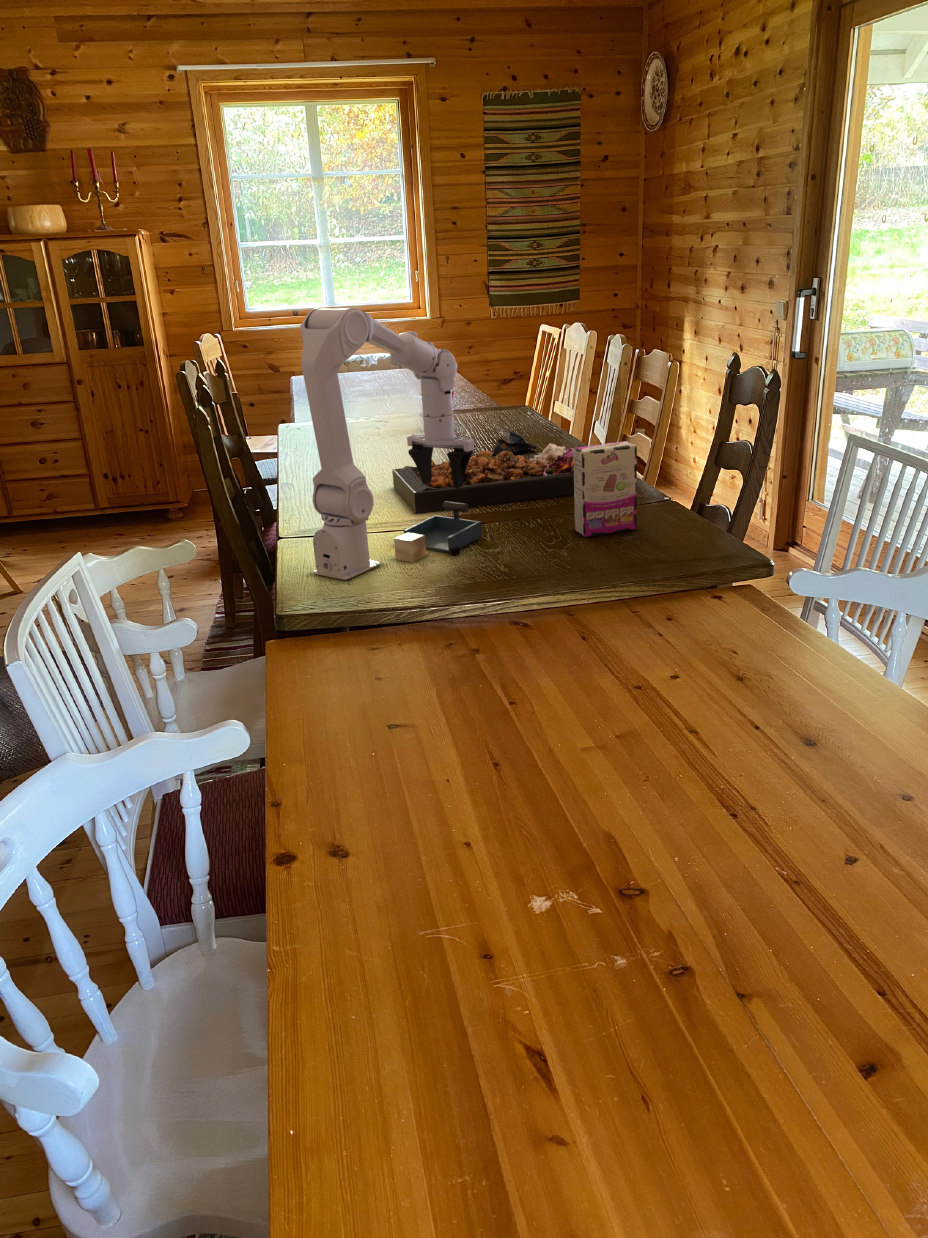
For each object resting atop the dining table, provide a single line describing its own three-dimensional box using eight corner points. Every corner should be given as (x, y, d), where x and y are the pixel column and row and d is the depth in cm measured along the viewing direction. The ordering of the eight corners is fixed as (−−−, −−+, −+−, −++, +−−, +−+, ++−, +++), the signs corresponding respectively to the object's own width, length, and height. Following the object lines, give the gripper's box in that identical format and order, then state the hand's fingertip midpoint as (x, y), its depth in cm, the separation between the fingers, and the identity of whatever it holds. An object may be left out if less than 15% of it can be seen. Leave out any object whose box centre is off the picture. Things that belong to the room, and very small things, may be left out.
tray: (451, 553, 168) (448, 521, 166) (404, 545, 174) (401, 514, 172) (483, 536, 176) (481, 504, 173) (437, 528, 182) (434, 498, 179)
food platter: (571, 467, 227) (571, 425, 223) (611, 489, 205) (612, 443, 201) (393, 487, 217) (390, 444, 213) (415, 513, 195) (412, 465, 191)
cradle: (455, 556, 167) (454, 548, 166) (396, 545, 174) (396, 538, 174) (460, 553, 168) (459, 546, 167) (401, 543, 176) (401, 536, 175)
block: (424, 535, 166) (426, 555, 168) (407, 532, 168) (409, 552, 170) (411, 541, 163) (412, 562, 165) (393, 538, 165) (395, 559, 167)
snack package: (496, 448, 254) (487, 456, 243) (499, 425, 251) (490, 432, 240) (538, 455, 252) (531, 463, 241) (542, 432, 249) (535, 439, 238)
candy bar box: (625, 523, 180) (627, 439, 174) (637, 529, 176) (638, 444, 169) (573, 530, 177) (572, 446, 171) (583, 537, 173) (582, 451, 167)
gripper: (481, 412, 172) (484, 483, 177) (420, 409, 180) (425, 476, 185) (459, 419, 167) (463, 492, 172) (398, 415, 175) (403, 484, 180)
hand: (442, 485), depth 178 cm, fingers open, 7 cm apart
